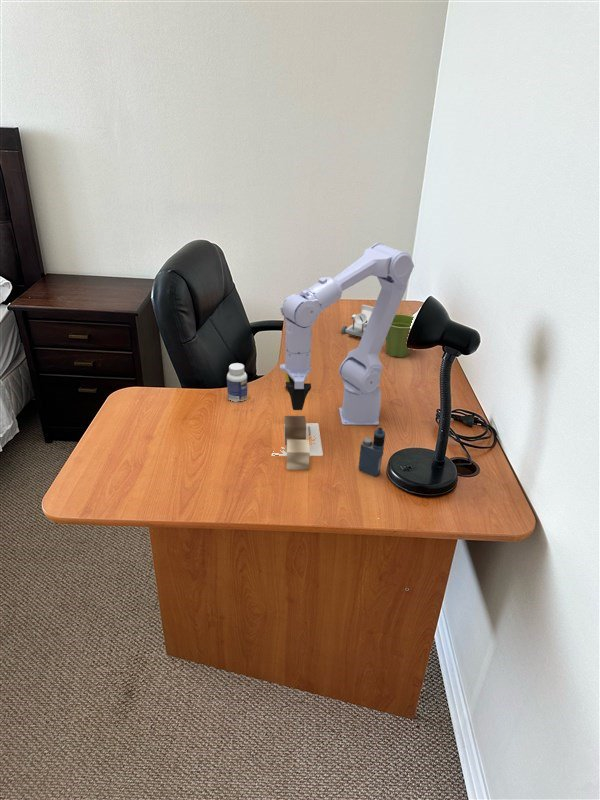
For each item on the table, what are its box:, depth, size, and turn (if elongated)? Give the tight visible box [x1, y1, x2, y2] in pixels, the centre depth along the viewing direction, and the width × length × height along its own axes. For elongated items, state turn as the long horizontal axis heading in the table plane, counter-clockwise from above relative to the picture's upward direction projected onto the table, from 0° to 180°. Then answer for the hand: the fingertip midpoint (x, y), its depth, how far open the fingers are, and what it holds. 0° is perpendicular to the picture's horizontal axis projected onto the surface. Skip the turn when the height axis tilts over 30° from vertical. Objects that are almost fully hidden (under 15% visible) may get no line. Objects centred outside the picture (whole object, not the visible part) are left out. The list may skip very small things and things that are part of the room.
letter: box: [271, 422, 324, 457], centre depth 136 cm, size 12×14×1 cm
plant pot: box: [385, 313, 415, 358], centre depth 178 cm, size 12×12×11 cm
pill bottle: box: [226, 362, 248, 403], centre depth 150 cm, size 5×5×10 cm
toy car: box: [340, 304, 374, 338], centre depth 192 cm, size 18×10×12 cm
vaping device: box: [358, 427, 386, 478], centre depth 123 cm, size 3×5×12 cm, turn 58°
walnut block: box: [283, 415, 307, 445], centre depth 135 cm, size 5×5×5 cm
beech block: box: [286, 439, 311, 471], centre depth 127 cm, size 5×5×5 cm
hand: (296, 400), depth 132 cm, fingers open, 7 cm apart
